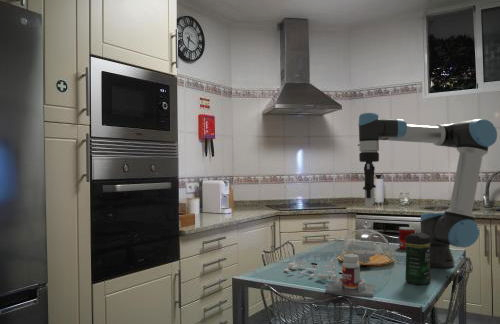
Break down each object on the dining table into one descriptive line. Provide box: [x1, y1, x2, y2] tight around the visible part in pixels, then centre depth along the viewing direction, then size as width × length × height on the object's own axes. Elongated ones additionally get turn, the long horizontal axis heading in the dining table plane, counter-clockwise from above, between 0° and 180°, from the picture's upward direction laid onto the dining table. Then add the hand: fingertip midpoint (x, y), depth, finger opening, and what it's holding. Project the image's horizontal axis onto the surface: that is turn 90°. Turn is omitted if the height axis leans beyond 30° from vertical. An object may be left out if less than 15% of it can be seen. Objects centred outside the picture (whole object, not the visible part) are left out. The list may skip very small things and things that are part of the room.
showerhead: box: [352, 248, 376, 264], centre depth 179 cm, size 9×7×10 cm
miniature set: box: [283, 258, 342, 281], centre depth 164 cm, size 6×35×12 cm
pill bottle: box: [341, 253, 361, 289], centre depth 144 cm, size 6×6×11 cm
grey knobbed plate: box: [325, 276, 376, 298], centre depth 144 cm, size 16×12×4 cm
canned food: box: [398, 226, 416, 251], centre depth 217 cm, size 8×8×11 cm
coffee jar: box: [405, 232, 432, 285], centre depth 153 cm, size 10×8×19 cm
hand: (369, 205), depth 160 cm, fingers open, 13 cm apart
